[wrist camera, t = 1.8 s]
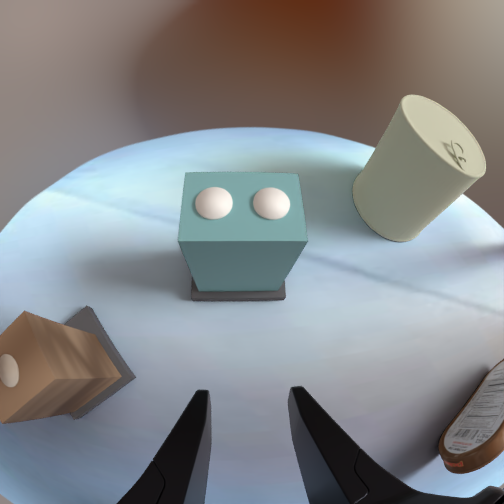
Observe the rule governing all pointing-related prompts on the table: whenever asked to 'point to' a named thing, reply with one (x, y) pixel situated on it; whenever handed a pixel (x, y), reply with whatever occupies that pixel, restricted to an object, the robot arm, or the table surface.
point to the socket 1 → (91, 324)
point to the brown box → (49, 369)
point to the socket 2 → (237, 295)
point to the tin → (477, 427)
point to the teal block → (241, 229)
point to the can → (416, 169)
